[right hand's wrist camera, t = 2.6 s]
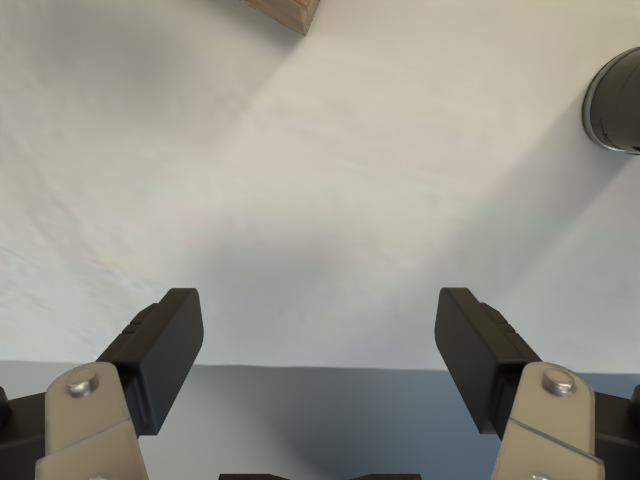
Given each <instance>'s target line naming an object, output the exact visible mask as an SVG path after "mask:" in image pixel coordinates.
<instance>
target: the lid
mask: <svg viewBox="0 0 640 480" xmlns="http://www.w3.org/2000/svg"><path fill="white" fill-rule="evenodd" d="M287 1H289V2H291V3H292V4H294V5H296V6H298V7H299V8H301V9H303V10H305V11H307V12H308V10H309V8H310V5H311V3H312V0H287Z"/></svg>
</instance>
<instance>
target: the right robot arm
mask: <svg viewBox="0 0 640 480" xmlns="http://www.w3.org/2000/svg"><path fill="white" fill-rule="evenodd" d="M583 121H584V125H585V129H586V131H587V133H588V135H589V136H590V138H591V139H592V140H593V141H594V142H595V143H596V144H598V145H599V146H601V147H603V148H606V149H610V150H616V151H632V152H640V47H636V48H633V49H630V50H628V51H625V52H624V53H622V54H620V55H618V56H617V57H615V58H614V59H613V60H611V61H610V62H609V63H608V64H607V65H606V66H605V67H604V68H603V69H602V70H601V71H600V72H599V73H598V75H597V76H596V78H595V79H594V81H593V82H592V84H591V86H590V88H589V90H588V92H587V95H586V98H585V102H584V108H583ZM626 154H631V153H626ZM633 155H640V154H633ZM203 336H204V329H203V321H202V314H201V307H200V300H199V294H198V291H197V289H196V288H171V289H170V290H169V291H168V292H167V293H166V295H165V296H164V297H163V298H162V299H161V301H160V302H159V303H153V304H152V305H150V306H148V307H147V308H145V309H144V310H142V311H140V312H139V313H138V314H137V315H136V316H135V317H134V319H133V320H132V321H131V322H130V325H127V326H126V328H125V329H124V330H123V331H122V334H119V335H118V336H117V338H116V339H115V340H114V341H113V342H112V343H111V344H110V345H109V347H108V348H107V349H106V350H105V351H104V352H103V353H102V354H101V356H100V357H99V358H98V359H97V360H96V361H95V362H91V363H87V364H84V365H81V366H78V367H75V368H73V369H71V370H69V371H67V372H65V373H64V374H62V375H61V376H59V377H58V378H57V379H56V380H55V381H53V382H52V384H51V385H50V386H49V387H48V389H47V391H46V392H44V393H39V394H35V395H31V396H26V397H21V398H17V399H12V400H8V399H7V396H6V394H5V392H4V389H3V388H2V387H1V386H0V480H149V478H148V475H147V471H146V468H145V464H144V461H143V457H142V454H141V450H140V447H139V443H138V438H139V436H140V435H157V434H158V433H159V431H160V429H161V427H162V425H163V423H164V421H165V419H166V417H167V415H168V413H169V411H170V408H171V407H172V405H173V403H174V401H175V399H176V397H177V394H178V392H179V391H180V389H181V387H182V385H183V383H184V381H185V379H186V377H187V375H188V373H189V371H190V369H191V367H192V365H193V363H194V361H195V359H196V357H197V355H198V353H199V351H200V349H201V346H202V343H203ZM435 341H436V345H437V347H438V350H439V352H440V354H441V356H442V358H443V360H444V362H445V364H446V366H447V368H448V370H449V372H450V374H451V376H452V378H453V380H454V382H455V384H456V386H457V388H458V390H459V392H460V394H461V396H462V398H463V400H464V402H465V404H466V406H467V408H468V410H469V412H470V414H471V416H472V418H473V420H474V422H475V424H476V426H477V428H478V430H479V432H480V434H498V436H499V438H500V440H501V442H502V444H501V447H500V450H499V454H498V457H497V461H496V464H495V468H494V471H493V475H492V478H491V480H640V385H638V386H636V387H635V390H634V392H633V394H632V397H631V399H625V398H621V397H617V396H612V395H607V394H603V393H598V392H594V391H593V389H592V387H591V386H590V385H589V384H588V382H587V381H586V380H584V379H583V378H582V377H581V376H579V375H578V374H576V373H575V372H573V371H571V370H569V369H567V368H565V367H562V366H560V365H556V364H553V363H549V362H543V361H542V360H541V359H540V358H539V357H538V355H537V354H536V353H535V352H534V351H533V350H532V349H531V348H530V346H529V345H528V344H527V343H526V342H525V341H524V340H523V339H522V337H521V336H520V335H519V334H518V333H516V332H515V330H514V328H513V327H512V326H511V325H510V324H508V322H507V320H506V319H505V318H504V317H503V316H502V315H501V314H500V313H499V311H497V310H495V309H494V308H492V307H490V306H489V305H487V304H486V303H479V301H478V300H477V299H476V298H475V297H474V295H473V294H472V293H471V292H470V291H469V289H468V288H442V289H441V291H440V294H439V301H438V308H437V315H436V322H435ZM218 480H289V479H285V478H282V477H278V476H275V475H271V474H220V476H219V479H218ZM351 480H422V479H421V476H420V474H369V475H365V476H362V477H358V478H354V479H351Z"/></svg>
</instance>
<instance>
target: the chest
mask: <svg viewBox="0 0 640 480" xmlns="http://www.w3.org/2000/svg"><path fill="white" fill-rule="evenodd" d="M240 1H242V2H244V3H246V4H248V5H249V6H251V7H253V8H255V9H257V10H259V11H260V12H262V13H264V14H266V15H268V16H269V17H271V18H273V19H275V20H277V21H279V22H280V23H282V24H284V25H286V26H288V27H289V28H291V29H293V30H295V31H297V32H299V33H300V34H302V35H304V36H306V34H307V31H308V29H309V27H310V24H311V22H312V19H313V17H314V14H315V12H316V9H317V7H318V4H319V2H320V0H312V3H311V5H310V8H309V10H308V12H307V11H305V10H303V9H301V8H299V7H298V6H296V5H294V4H292V3H291V2H289V1H287V0H240Z"/></svg>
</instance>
